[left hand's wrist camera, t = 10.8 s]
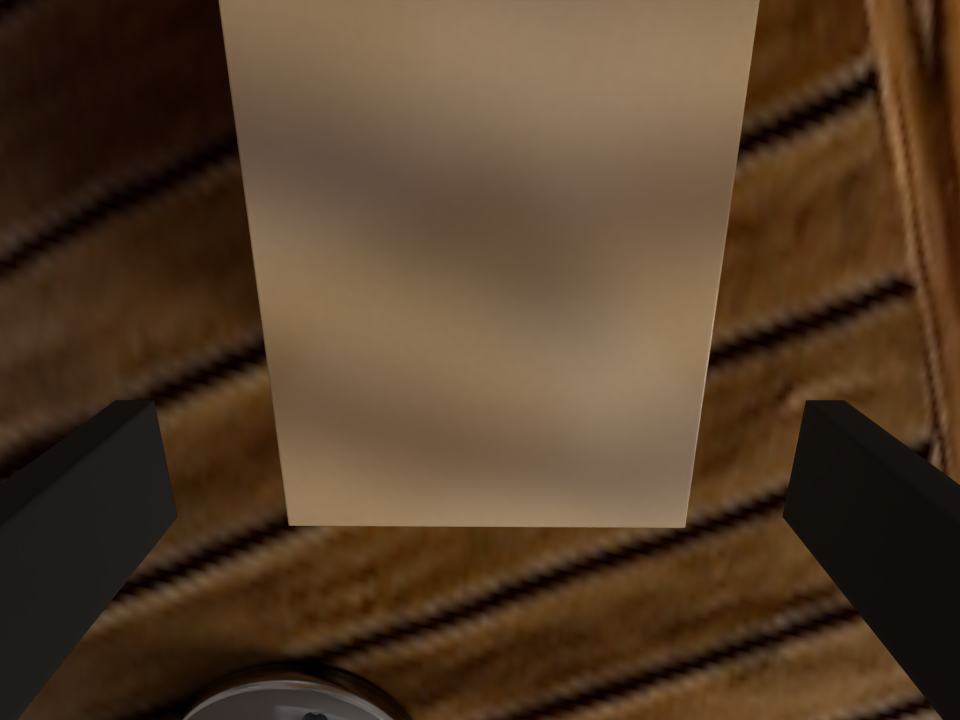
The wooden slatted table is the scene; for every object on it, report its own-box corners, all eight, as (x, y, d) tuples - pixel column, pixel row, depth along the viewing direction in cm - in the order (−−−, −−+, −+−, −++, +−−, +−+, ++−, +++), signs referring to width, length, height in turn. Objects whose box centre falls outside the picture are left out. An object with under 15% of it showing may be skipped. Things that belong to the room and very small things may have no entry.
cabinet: (331, -125, 22) (163, -397, 10) (645, -126, 22) (817, -404, 10) (367, 367, 28) (287, 526, 17) (606, 368, 28) (685, 528, 17)
